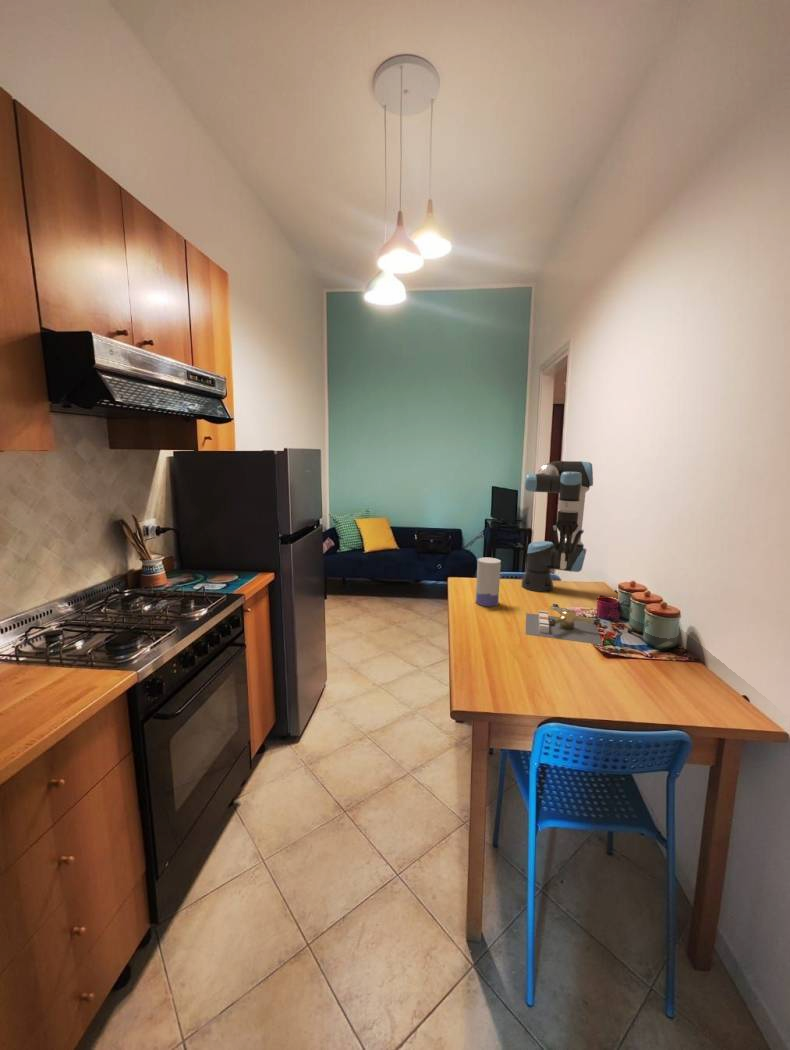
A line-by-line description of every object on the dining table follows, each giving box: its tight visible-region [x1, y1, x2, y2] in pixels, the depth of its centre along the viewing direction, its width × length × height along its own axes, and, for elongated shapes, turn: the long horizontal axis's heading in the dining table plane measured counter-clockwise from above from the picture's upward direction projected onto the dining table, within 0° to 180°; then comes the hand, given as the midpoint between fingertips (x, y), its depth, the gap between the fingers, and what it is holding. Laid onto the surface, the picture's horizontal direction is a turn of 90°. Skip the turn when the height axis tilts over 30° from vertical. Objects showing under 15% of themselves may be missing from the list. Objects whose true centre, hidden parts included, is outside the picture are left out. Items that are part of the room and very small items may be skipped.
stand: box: [525, 610, 604, 646], centre depth 163 cm, size 22×26×4 cm
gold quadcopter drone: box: [549, 603, 601, 629], centre depth 162 cm, size 20×18×7 cm
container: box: [475, 556, 502, 608], centre depth 190 cm, size 10×10×20 cm
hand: (563, 568), depth 173 cm, fingers closed
